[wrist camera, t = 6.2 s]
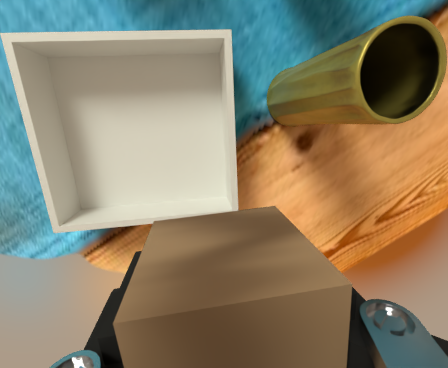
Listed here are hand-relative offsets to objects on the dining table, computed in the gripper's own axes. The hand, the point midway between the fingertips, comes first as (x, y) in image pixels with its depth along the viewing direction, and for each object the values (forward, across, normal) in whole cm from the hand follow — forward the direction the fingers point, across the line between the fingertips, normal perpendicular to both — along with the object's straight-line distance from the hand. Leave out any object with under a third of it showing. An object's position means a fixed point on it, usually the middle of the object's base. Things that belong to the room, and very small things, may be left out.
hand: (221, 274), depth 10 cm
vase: (+18, -11, -8) cm, 23 cm away
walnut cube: (+1, 0, 0) cm, 1 cm away
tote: (+18, +5, -5) cm, 20 cm away
